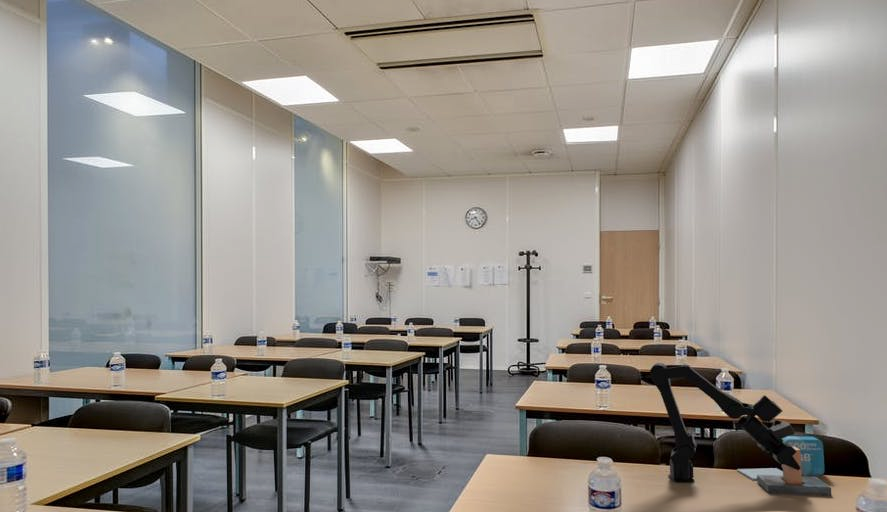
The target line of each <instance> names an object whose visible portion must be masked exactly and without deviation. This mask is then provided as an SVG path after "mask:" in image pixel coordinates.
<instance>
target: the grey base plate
mask: <svg viewBox="0 0 887 512" xmlns="http://www.w3.org/2000/svg"><path fill="white" fill-rule="evenodd" d="M756 482H757V484H758V485H759V486H760V487H762V489H763V490H765V491H766V493H767V494H780V495H781V494H783V495H804V496H805V495H807V496H826V497H827V496H828V497H829V496H830V497H831V496H832V488H831V486H830V485H828V484H827V483H826V482H824V481H823V480H821V479H820V478H819V477H817V476H804V475H803V476H802V484H789V483H786V482H784V481H783V476H776V475H757V480H756Z"/></svg>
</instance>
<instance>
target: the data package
mask: <svg viewBox="0 0 887 512" xmlns="http://www.w3.org/2000/svg"><path fill="white" fill-rule="evenodd" d="M781 439H782V440H784V441H783V443H784V444H789V445H790V446H792V447H797V448H798V449H800V451H801V472H802V475H803V476H822V475H824V473H825V456H824V455H825V454H824V444H823V441H822V440H821V439H819V438H816V437H814V436H798V435H797V436H794V435H790V436H787V437H785V438H781ZM781 468H782V469H783V465H781Z"/></svg>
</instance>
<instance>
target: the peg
mask: <svg viewBox="0 0 887 512" xmlns="http://www.w3.org/2000/svg"><path fill="white" fill-rule="evenodd" d="M793 448H794V449H795V450H796V453H795V454H794V455H793V457H794V459H795V460H796V462H797V463H798V465H799V466H800V469H799V470H796V469H794V468H792V467H789V466H787V465H785V464H783V468H782V471H783V481H784V482H786V483H789V484H802V472H801V451H800V449H798V448H797V447H793Z"/></svg>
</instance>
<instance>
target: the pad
mask: <svg viewBox="0 0 887 512" xmlns="http://www.w3.org/2000/svg"><path fill="white" fill-rule="evenodd" d="M736 471H737V472H738V473H740V474H742V475H743V476H745V477H747V478H748V479H749V480H752V481H757V475H776V476H783V470H781V469H779V468H777V467H775V468H773V467H767V468H763V467H762V468H737V469H736Z"/></svg>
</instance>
